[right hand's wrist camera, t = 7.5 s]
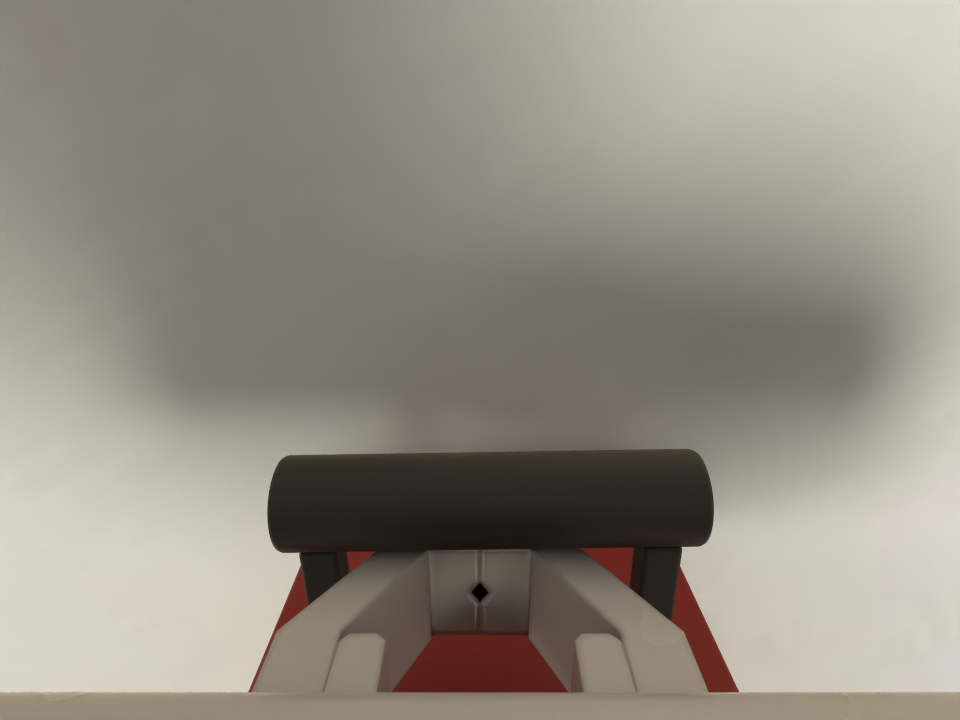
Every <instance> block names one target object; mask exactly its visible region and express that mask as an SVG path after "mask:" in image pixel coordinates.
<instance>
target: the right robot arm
mask: <svg viewBox="0 0 960 720" xmlns="http://www.w3.org/2000/svg"><path fill="white" fill-rule="evenodd" d="M477 634H481V635H517V636H529V639H530V641H531V642H532V643H533V645H534V646H535V647H536V649H537V650H538V651H539V653H540V654H541V656H542V657H543V658H544V660H545V661H546V662H547V664H548V665H549V666H550V668H551V669H552V671H553V672H554V673H555V675H556V676H557V677H558V679H559V680H560V681H561V683H562V684H563V685H564V687H565V688H566V690H567V691H568V692H569V693H564V692H392V691H393V690H394V689H395V687H396V686H397V685H398V683H399V682H400V681H401V679H402V678H403V676H404V675H405V674H406V672H407V671H408V670H409V668H410V667H411V666H412V664H413V663H414V662H415V660H416V659H417V658H418V656H419V655H420V653H421V652H422V651H423V649H424V648H425V647H426V645H427V644H428V643H429V641H430V640H431V636H443V635H477ZM0 720H960V692H708V689H707V687H706V684H705V682H704V680H703V677H702V675H701V672H700V670H699V667H698V665H697V663H696V660H695V658H694V655H693V653H692V650H691V648H690V646H689V643H688V641H687V638H686V636H685V634H684V632H683V631H682V630H681V629H680V628H678V627H677V626H676V625H675V624H674V623H672V622H671V621H670V620H669V619H667V618H666V617H665V616H664V615H662V614H661V613H660V612H659V611H658V610H656V609H655V608H654V607H653V606H651V605H650V604H649V603H648V602H646V601H645V600H644V599H643V598H641V597H640V596H639V595H638V594H637V593H635V592H634V591H633V590H632V589H630V588H629V587H628V586H627V585H625V584H624V583H623V582H622V581H620V580H619V579H618V578H617V577H616V576H614V575H613V574H612V573H611V572H609V571H608V570H607V569H606V568H604V567H603V566H602V565H601V564H600V563H598V562H597V561H596V560H595V559H593V558H592V557H591V556H590V555H588V554H587V553H586V552H585V551H583V550H582V549H574V548H567V549H501V550H435V551H375V552H374V553H373V554H372V555H370V556H369V557H368V558H367V559H365V560H364V561H363V562H362V563H361V564H359V565H358V566H357V567H356V568H354V569H353V570H352V571H351V572H349V573H348V574H347V575H346V576H344V577H343V578H342V579H341V580H339V581H338V582H337V583H336V584H334V585H333V586H332V587H331V588H330V589H328V590H327V591H326V592H325V593H323V594H322V595H321V596H320V597H318V598H317V599H316V600H315V601H313V602H312V603H311V604H310V605H308V606H307V607H306V608H305V609H303V610H302V611H301V612H300V613H299V614H297V615H296V616H295V617H294V618H292V619H291V620H290V621H289V622H287V623H286V624H285V625H284V626H282V627H281V628H280V629H279V630H277V632H276V634H275V637H274V639H273V642H272V644H271V646H270V649H269V651H268V653H267V656H266V658H265V661H264V663H263V665H262V668H261V670H260V673H259V675H258V677H257V680H256V682H255V685H254V687H253V689H252V692H0Z"/></svg>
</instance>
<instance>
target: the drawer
mask: <svg viewBox="0 0 960 720" xmlns="http://www.w3.org/2000/svg"><path fill="white" fill-rule="evenodd" d="M267 515H268V528H269V534H270V538H271V541H272V544H273V546H274V547H275V549H276V550H278V551H280V552H282V553H300V554H299V556H300V562H301V566H300V569H299V571H298V574H297V576H296V579H295V581H294V583H293V586H292V588H291V591H290V593H289V595H288V598H287V600H286V603H285V605H284V607H283V610H282V612H281V615H280V617H279V620H278V622H277V624H276V627H275V629H274V632H273V634H272V636H271V639H270V641H269V644H268V646H267V648H266V651H265V653H264V656H263V658H262V661H261V663H260V665H259V668H258V670H257V673H256V675H255V677H254V680H253V682H252V685H251V687H250V690H249V692H252V689H253V687H254V685H255V682H256V680H257V677H258V675H259V673H260V670H261V668H262V665H263V663H264V661H265V658H266V656H267V653H268V651H269V649H270V646H271V644H272V642H273V639H274V637H275V634H276V632H277V630H279V629H280V628H281V627H282V626H284V625H285V624H286V623H287V622H289V621H290V620H291V619H292V618H294V617H295V616H296V615H297V614H299V613H300V612H301V611H302V610H303V609H305V608H306V607H307V606H308V605H310V604H311V603H312V602H313V601H315V600H316V599H317V598H318V597H320V596H321V595H322V594H323V593H325V592H326V591H327V590H328V589H330V588H331V587H332V586H333V585H334V584H336V583H337V582H338V581H339V580H341V579H342V578H343V577H344V576H346V575H347V574H348V573H349V572H351V571H352V570H353V569H354V568H356V567H357V566H358V565H359V564H361V563H362V562H363V561H364V560H365V559H367V558H368V557H369V556H370V555H372V554H373V553H374V552H375V551H435V550H501V549H567V548H574V549H582V550H583V551H585V552H586V553H587V554H588V555H590V556H591V557H592V558H593V559H595V560H596V561H597V562H598V563H600V564H601V565H602V566H603V567H604V568H606V569H607V570H608V571H609V572H611V573H612V574H613V575H614V576H616V577H617V578H618V579H619V580H620V581H622V582H623V583H624V584H625V585H627V586H628V587H629V588H630V589H632V590H633V591H634V592H635V593H637V594H638V595H639V596H640V597H641V598H643V599H644V600H645V601H646V602H648V603H649V604H650V605H651V606H653V607H654V608H655V609H656V610H658V611H659V612H660V613H661V614H662V615H664V616H665V617H666V618H667V619H669V620H670V621H671V622H672V623H674V624H675V625H676V626H677V627H678V628H680V629H681V630H682V631H683V632H684V634H685V636H686V638H687V641H688V643H689V646H690V648H691V650H692V653H693V655H694V658H695V660H696V663H697V665H698V667H699V670H700V672H701V675H702V677H703V680H704V682H705V684H706V687H707V689H708V692H739V691H738V689H737V687H736V684H735V682H734V680H733V678H732V676H731V674H730V672H729V670H728V667H727V665H726V663H725V661H724V659H723V657H722V655H721V653H720V650H719V648H718V646H717V644H716V642H715V640H714V638H713V635H712V633H711V631H710V629H709V627H708V625H707V623H706V621H705V618H704V616H703V614H702V612H701V610H700V608H699V606H698V604H697V601H696V599H695V597H694V595H693V593H692V591H691V589H690V587H689V584H688V582H687V580H686V578H685V576H684V574H683V572H682V570H681V567H680V561H681V554H682V548H681V547H698V546H701V545H703V544H705V543H706V542H707V541H708V539H709V537H710V535H711V531H712V527H713V517H714V503H713V493H712V487H711V482H710V478H709V475H708V471H707V469H706V466H705V464H704V462H703V460H702V458H701V457H700V456H699V454H698V453H697V452H695V451H693V450H690V449H659V450H596V451H532V452H468V453H405V454H341V455H289V456H286V457H284V458H283V459H282V460H281V461H280V462H279V463H278V465H277V467H276V469H275V471H274V474H273V477H272V481H271V485H270V490H269V497H268V513H267ZM392 692H564V693H569V692H568V691H567V690H566V688H565V687H564V685H563V684H562V683H561V681H560V680H559V679H558V677H557V676H556V675H555V673H554V672H553V671H552V669H551V668H550V666H549V665H548V664H547V662H546V661H545V660H544V658H543V657H542V656H541V654H540V653H539V651H538V650H537V649H536V647H535V646H534V645H533V643H532V642H531V641H530V639H529V636H517V635H481V634H477V635H443V636H431V640H430V641H429V643H428V644H427V645H426V647H425V648H424V649H423V651H422V652H421V653H420V655H419V656H418V658H417V659H416V660H415V662H414V663H413V664H412V666H411V667H410V668H409V670H408V671H407V672H406V674H405V675H404V676H403V678H402V679H401V681H400V682H399V683H398V685H397V686H396V687H395V689H394V690H393V691H392Z"/></svg>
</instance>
